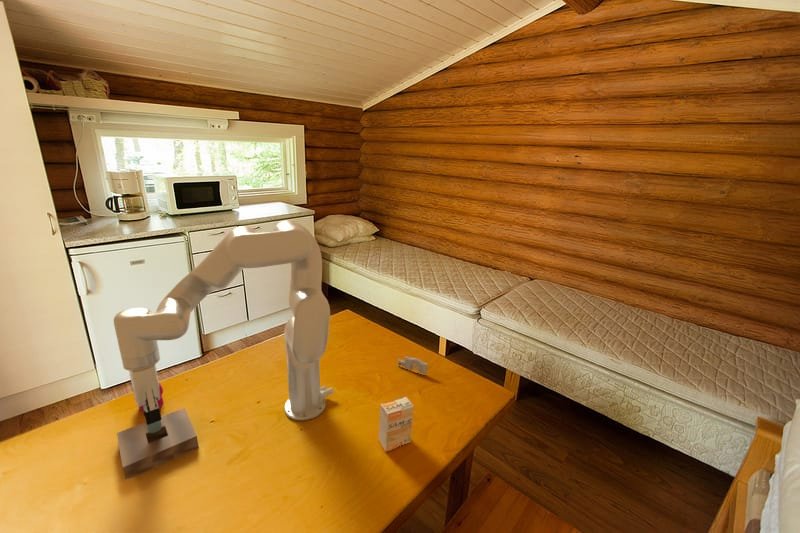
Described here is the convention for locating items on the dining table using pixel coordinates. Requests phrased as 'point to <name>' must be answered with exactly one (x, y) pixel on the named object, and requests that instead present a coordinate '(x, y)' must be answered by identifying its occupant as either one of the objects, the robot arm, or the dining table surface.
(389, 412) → the supplement box
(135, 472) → the walnut hole block
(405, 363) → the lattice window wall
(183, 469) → the dining table surface
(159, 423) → the teal peg
